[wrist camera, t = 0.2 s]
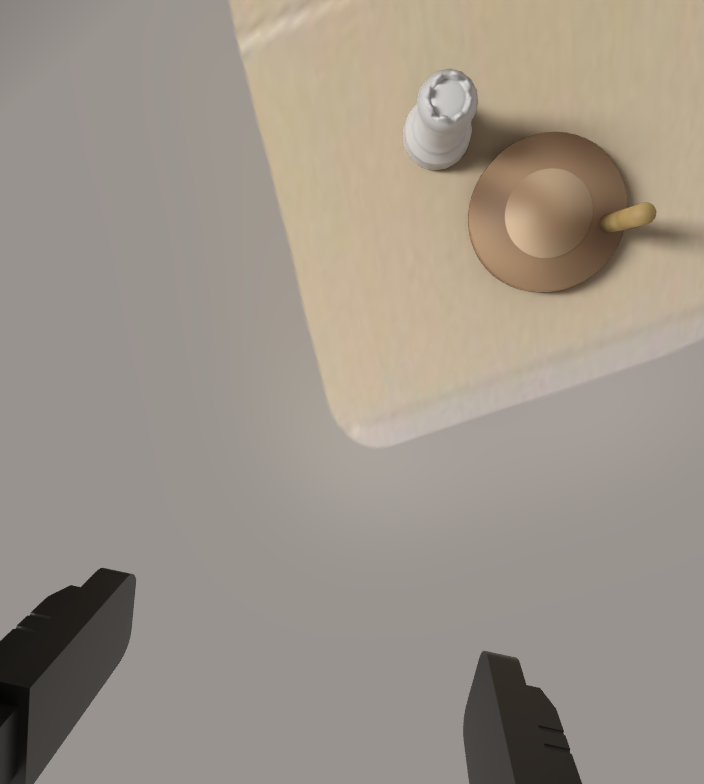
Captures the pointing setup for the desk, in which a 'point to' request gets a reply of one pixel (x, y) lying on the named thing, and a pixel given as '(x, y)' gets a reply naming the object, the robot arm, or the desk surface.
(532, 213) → the handwheel with crank handle
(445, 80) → the rook chess piece
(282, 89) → the desk surface
